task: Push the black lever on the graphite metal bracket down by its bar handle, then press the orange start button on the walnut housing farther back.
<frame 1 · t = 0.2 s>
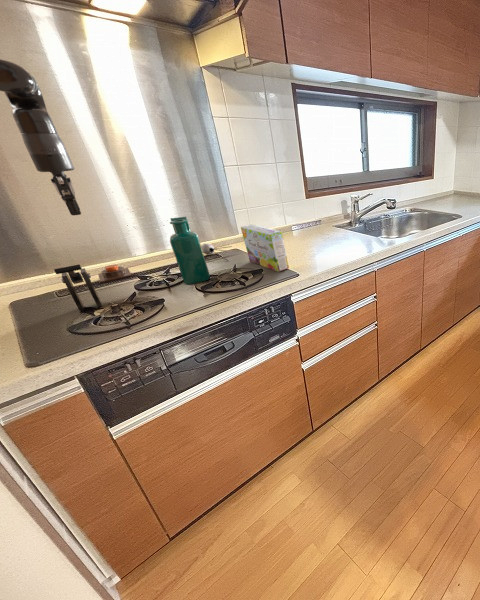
hand: (76, 212, 95), 28 cm above the worktop, tool pointing down, fingers open, 8 cm apart
start button: (112, 268, 119), point 4 cm above the worktop, slide at 0.1 cm
bracket: (93, 311, 98), on the worktop
snack box: (268, 265, 132), on the worktop
lever: (72, 274, 89), point 13 cm above the worktop, hinge at 30.0°
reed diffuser: (214, 258, 142), on the worktop
green bottle: (197, 279, 120), on the worktop
button box: (117, 279, 121), on the worktop
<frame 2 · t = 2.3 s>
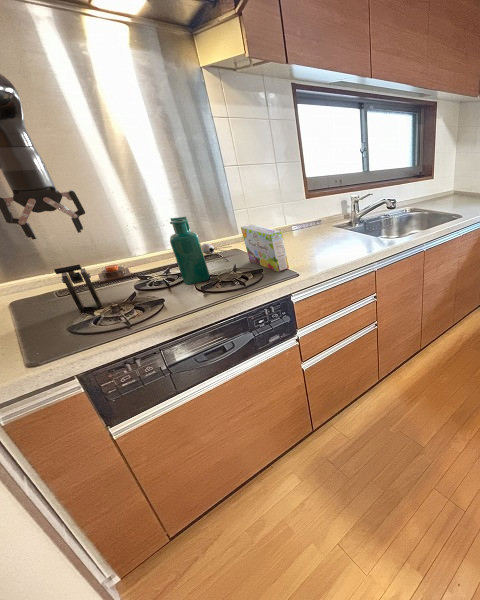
hand: (57, 235, 84), 24 cm above the worktop, tool pointing down, fingers open, 8 cm apart
nothing on the worktop moved.
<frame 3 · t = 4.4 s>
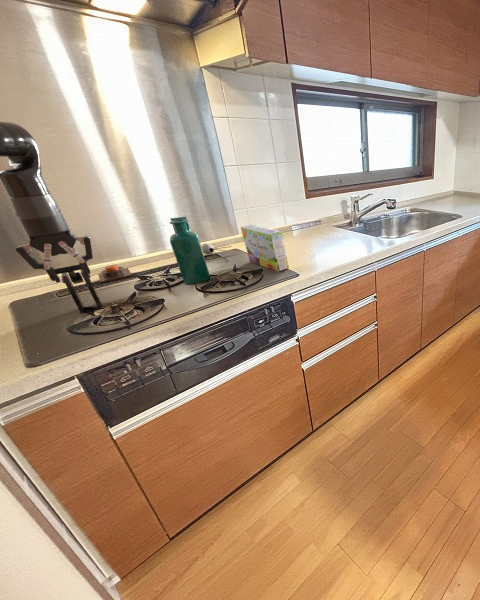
hand: (72, 278, 86), 13 cm above the worktop, tool pointing down, fingers closed on lever, 5 cm apart
lever: (72, 274, 89), point 13 cm above the worktop, hinge at 29.9°, touching gripper
everything else where it was.
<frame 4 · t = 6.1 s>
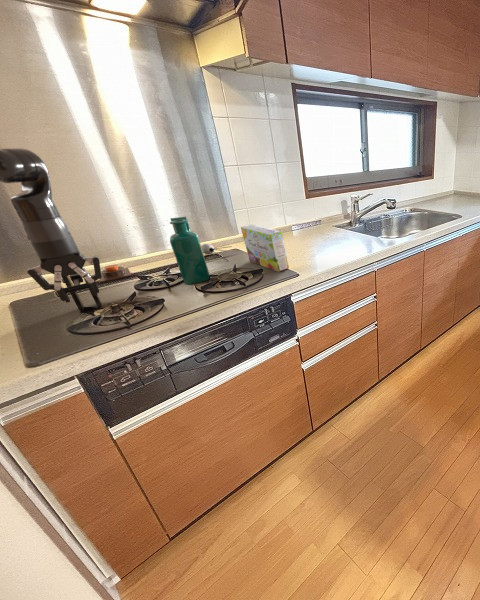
hand: (82, 297, 88), 8 cm above the worktop, tool pointing down, fingers closed on lever, 5 cm apart
lever: (76, 282, 90), point 11 cm above the worktop, hinge at 0.0°, touching gripper
everything else where it was.
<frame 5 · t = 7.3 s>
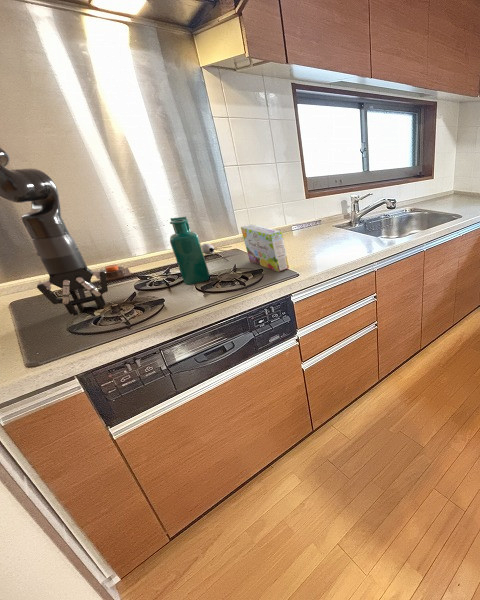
hand: (89, 310, 90), 4 cm above the worktop, tool pointing down, fingers closed on lever, 5 cm apart
lever: (79, 288, 91), point 9 cm above the worktop, hinge at -23.8°, touching gripper
everything else where it was.
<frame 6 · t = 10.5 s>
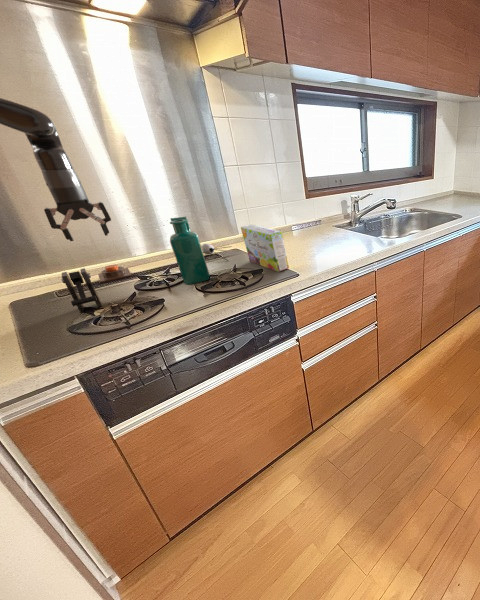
hand: (89, 237, 105), 18 cm above the worktop, tool pointing down, fingers open, 8 cm apart
lever: (79, 288, 91), point 9 cm above the worktop, hinge at -24.6°
everything else where it was.
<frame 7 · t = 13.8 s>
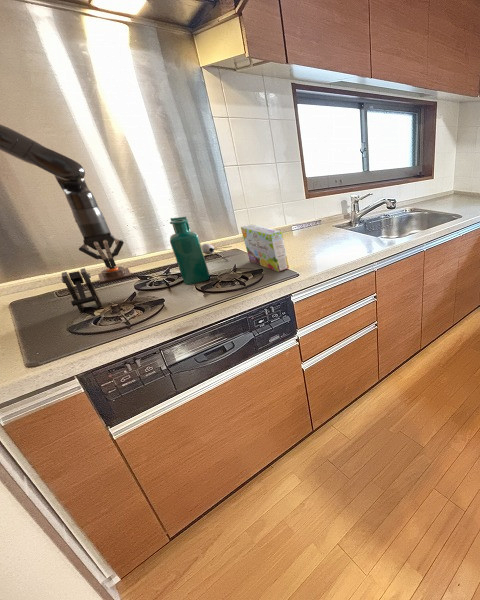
hand: (112, 268, 119), 5 cm above the worktop, tool pointing down, fingers closed
start button: (112, 270, 120), point 4 cm above the worktop, slide at -0.7 cm, touching gripper
everything else where it was.
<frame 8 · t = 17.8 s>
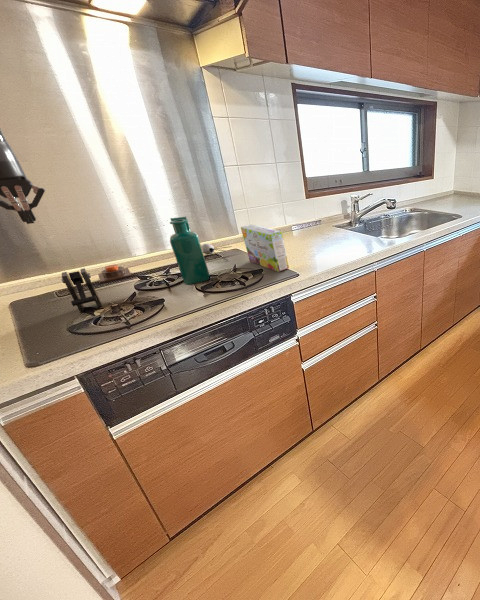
hand: (30, 223, 96), 25 cm above the worktop, tool pointing down, fingers closed
start button: (112, 268, 119), point 4 cm above the worktop, slide at 0.1 cm
everything else where it was.
at the end: lever at -25° (first picture: +30°); start button pushed in 1.1 cm at the most during the clip, back to where it started at the end; start button slide at 0.1 cm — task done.
